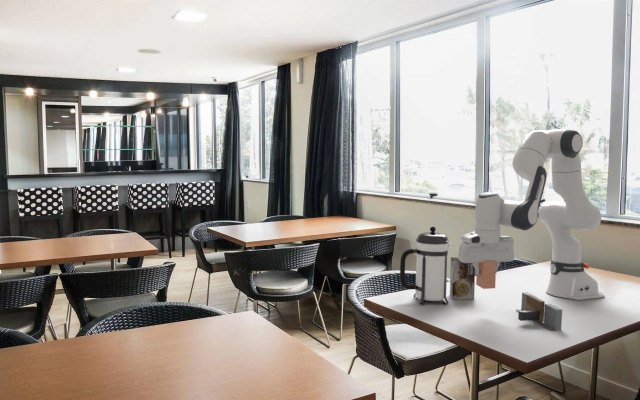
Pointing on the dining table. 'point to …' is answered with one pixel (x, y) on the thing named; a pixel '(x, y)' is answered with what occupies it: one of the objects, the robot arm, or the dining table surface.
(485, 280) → the doorstop block
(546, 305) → the door wall
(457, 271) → the cookie box
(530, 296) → the sliding door
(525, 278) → the dining table surface
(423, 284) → the coffee press
